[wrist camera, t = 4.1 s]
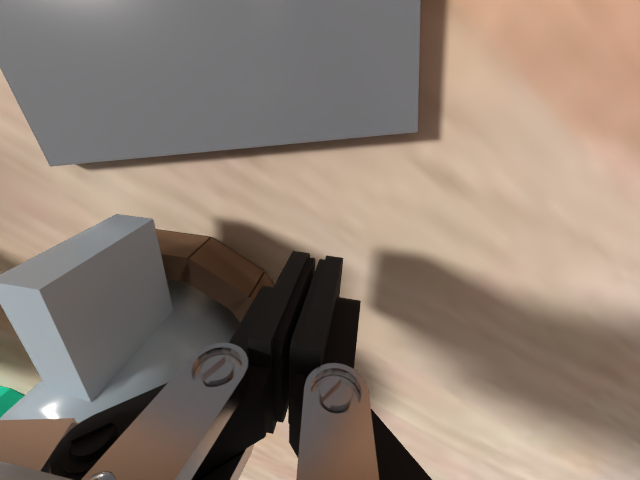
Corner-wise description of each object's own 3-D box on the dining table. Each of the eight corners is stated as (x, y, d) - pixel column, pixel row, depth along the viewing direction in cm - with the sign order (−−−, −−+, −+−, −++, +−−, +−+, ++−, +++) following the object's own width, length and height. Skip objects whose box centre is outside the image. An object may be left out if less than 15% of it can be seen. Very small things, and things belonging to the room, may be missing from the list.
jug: (254, 370, 17) (185, 531, 11) (155, 351, 18) (40, 492, 12) (243, 201, 13) (111, 320, 6) (110, 185, 13) (-121, 278, 7)
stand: (77, 218, 14) (39, 235, 13) (295, 248, 13) (283, 271, 11) (129, 371, 19) (107, 397, 18) (292, 404, 18) (284, 435, 16)
